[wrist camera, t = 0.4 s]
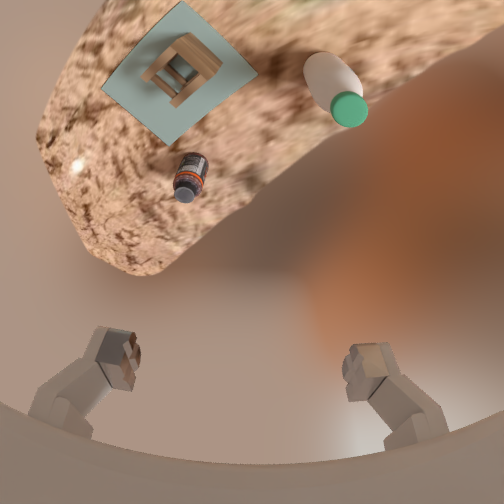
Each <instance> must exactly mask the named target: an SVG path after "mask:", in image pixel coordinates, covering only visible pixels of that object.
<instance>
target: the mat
mask: <svg viewBox="0 0 504 504" xmlns="http://www.w3.org/2000/svg"><path fill="white" fill-rule="evenodd" d="M190 32H191V33H192V34H194V35H195V36H196V37H197V38H198V39H199V40H200V41H201V42H202V43H203V44H204V45H205V46H206V47H207V48H209V49H210V50H211V51H212V52H213V53H214V54H215V55H216V56H217V57H218V58H219V59H220V60H221V61H222V62H223V64H222V65H221V67H220V68H219V70H218V71H217V73H216V74H215V75H214V76H213V77H212V78H211V79H209V80H208V81H207V82H206V83H205V84H203V85H202V86H201V87H200V88H199V89H197V90H196V91H195V92H194V93H193V94H192V95H191V96H189V97H188V98H187V99H186V100H185V101H184V102H183V103H182V104H180V105H179V106H178V107H177V108H175V107H174V106H172V105H171V104H170V103H169V102H170V101H171V100H172V98H171V97H169V96H168V95H167V94H166V93H165V92H164V91H163V90H162V89H160V88H159V87H158V86H157V85H156V84H155V83H154V82H152V81H151V80H149V81H148V82H147V83H146V82H145V81H144V80H143V79H142V78H140V76H141V75H142V74H143V73H144V72H145V71H146V70H147V69H148V68H149V66H150V65H151V64H152V63H153V62H154V61H155V60H156V59H157V58H158V57H159V56H160V55H161V54H162V53H163V52H164V51H165V50H166V49H167V48H168V47H169V46H170V45H171V44H172V43H174V42H175V41H176V40H177V39H178V38H180V37H182V36H184V35H186V34H188V33H190ZM169 64H170V65H171V66H172V67H173V68H174V69H175V70H176V71H177V72H179V73H180V74H181V75H182V76H183V77H184V78H185V79H186V80H187V81H189V80H190V79H191V78H192V77H194V76H195V75H196V74H197V73H198V71H197V70H196V69H194V68H193V67H192V66H191V65H190V64H189V63H188V62H187V61H186V60H185V59H184V58H183V57H181V56H180V55H179V54H178V55H177V56H176V57H175V58H174V59H173V60H172V61H171V62H170V63H169ZM156 74H157V75H158V76H159V77H161V78H162V79H163V80H164V81H165V82H166V83H167V84H168V85H170V86H171V87H172V88H173V89H174V90H175V91H176V92H177V93H179V92H180V91H181V90H180V89H181V88H182V85H181V84H180V83H179V82H178V81H177V80H176V79H174V78H173V77H172V76H171V75H170V74H169V73H168V72H167V71H166V70H164V69H163V70H162V71H158V72H157V73H156ZM258 75H259V74H258V73H257V72H256V71H255V70H254V69H253V68H252V67H251V66H250V64H249V63H248V62H247V61H246V60H245V59H244V58H243V57H242V56H241V55H240V54H239V53H238V52H237V51H236V50H235V49H234V48H233V47H232V46H231V45H230V44H229V43H228V42H227V41H226V40H225V39H224V38H223V37H222V36H221V35H220V34H219V33H218V32H217V31H216V30H215V29H214V28H213V27H212V26H211V25H210V24H208V23H207V22H206V21H205V20H204V19H203V18H202V17H201V16H200V15H199V14H198V13H196V12H195V11H194V10H193V9H192V8H191V7H190V6H188V5H187V4H186V3H185V2H184V1H181V2H180V3H179V4H177V5H176V6H175V7H174V8H173V9H172V10H171V11H170V12H169V13H168V14H167V15H166V16H164V17H163V18H162V19H161V20H160V21H159V22H158V23H157V24H156V25H155V26H154V27H153V28H152V29H151V30H150V31H149V32H148V33H147V35H146V36H145V37H144V38H143V39H142V40H141V41H140V42H139V43H138V44H137V45H136V46H135V48H134V49H133V50H132V51H131V52H130V53H129V54H128V56H127V57H126V58H125V59H124V60H123V61H122V63H121V64H120V65H119V66H118V67H117V69H116V70H115V71H114V72H113V74H112V75H111V76H110V78H109V79H108V80H107V81H106V83H105V84H104V85H103V87H102V88H101V89H102V90H103V91H104V92H105V93H107V94H108V95H109V96H110V97H111V98H113V99H114V100H115V101H116V102H117V103H119V104H120V105H121V106H122V107H123V108H125V109H126V110H127V111H128V112H129V113H131V114H132V115H133V116H134V117H135V118H136V119H138V120H139V121H140V122H141V123H142V124H144V125H145V126H146V127H147V128H148V129H149V130H151V131H152V132H153V133H154V134H155V135H156V136H158V137H159V138H160V139H161V140H162V141H163V142H165V143H166V144H167V145H168V146H170V145H171V144H172V143H173V142H174V141H175V140H177V139H178V138H179V137H180V136H181V135H182V134H183V133H185V132H186V131H187V130H188V129H189V128H190V127H192V126H193V125H194V124H195V123H196V122H198V121H199V120H200V119H201V118H202V117H204V116H205V115H206V114H207V113H208V112H210V111H211V110H212V109H213V108H215V107H216V106H217V105H219V104H220V103H221V102H222V101H224V100H225V99H226V98H228V97H229V96H230V95H232V94H233V93H234V92H236V91H237V90H238V89H240V88H241V87H242V86H244V85H245V84H247V83H248V82H249V81H251V80H252V79H254V78H255V77H256V76H258Z"/></svg>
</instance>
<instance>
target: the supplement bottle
mask: <svg viewBox="0 0 504 504" xmlns="http://www.w3.org/2000/svg"><path fill="white" fill-rule="evenodd" d="M207 171H208V161H207V159H206V158H205V157H204V156H203V155H201V154H198V153H190V154H188V155H186V156H185V157H184V158H183V160H182V162H181V164H180V167H179V169H178V171H177V174H176V176H175V179H174V181H173V188H174V191H175V192H174V196H175V198H176V199H177V200H178V201H179V202H182V203H190V202H192V201H193V200H194V197H197V196H198V195H199V194H200V193H201V191H202V187H203V184H204V181H205V177H206V174H207Z"/></svg>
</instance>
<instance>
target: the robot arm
mask: <svg viewBox="0 0 504 504" xmlns="http://www.w3.org/2000/svg"><path fill="white" fill-rule="evenodd" d="M136 339H137V337H136V334H135V332H129V331H124V330H118V329H113V328H108V327H103V326H98V327H97V328H96V329H95V331H94V333H93V335H92V337H91V340H90V342H89V344H88V346H87V348H86V351H85V353H84V355H83V358H78V359H77V360H75V361H74V362H73V363H71V364H70V365H69V366H67V367H66V368H65V369H63V370H62V371H60V372H59V373H58V374H56V375H55V376H54V377H52V378H51V379H50V380H48V381H47V382H46V383H44V384H43V385H42V386H41V387H39V388H38V390H37V392H36V395H35V397H34V400H33V402H32V405H31V407H30V410H29V413H28V415H26V414H24V413H22V412H19V411H17V410H15V409H13V408H11V407H9V406H7V405H5V404H4V403H2V402H0V504H504V411H500V412H498V413H496V414H493V415H491V416H489V417H487V418H485V419H482V420H480V421H478V422H476V423H473V424H471V425H468V426H466V427H463V428H461V429H458V430H455V431H452V432H449V429H448V426H447V423H446V420H445V417H444V414H443V411H442V409H441V406H440V405H438V404H437V403H436V402H435V401H434V400H433V399H432V398H430V397H429V396H428V395H427V394H426V393H425V392H424V391H423V390H421V389H420V388H419V387H418V386H417V385H416V384H414V383H413V382H412V381H411V380H410V379H409V378H408V377H407V376H405V375H401V373H400V370H399V367H398V365H397V362H396V360H395V357H394V354H393V351H392V349H391V346H390V344H389V343H387V342H386V343H364V344H353V345H352V346H351V347H350V349H349V351H350V354H349V355H347V356H346V357H345V359H344V361H343V365H342V373H343V378H344V380H345V381H347V382H348V384H347V387H346V392H347V396H348V401H349V402H355V401H366V400H368V403H369V404H370V405H371V406H372V407H373V409H374V410H375V411H376V412H377V413H378V414H379V416H380V417H381V418H382V419H383V420H384V422H385V423H386V424H387V425H388V426H389V427H390V429H391V430H392V431H393V432H392V433H391V434H390V435H389V436H387V437H386V438H385V439H384V446H385V451H384V452H378V453H373V454H368V455H363V456H357V457H351V458H344V459H337V460H329V461H320V462H309V463H295V464H265V465H264V464H261V465H260V464H259V465H258V464H257V465H255V464H226V463H212V462H201V461H192V460H184V459H176V458H170V457H164V456H158V455H152V454H147V453H142V452H138V451H133V450H129V449H124V448H120V447H116V446H112V445H109V444H105V443H102V442H98V441H95V440H91V437H92V433H93V427H92V426H91V425H90V424H89V422H88V421H87V420H86V419H85V418H84V417H85V416H86V415H87V414H88V413H89V412H90V411H91V410H92V409H93V408H94V407H95V406H96V405H97V404H98V403H99V402H100V401H101V400H102V399H103V398H104V397H105V396H106V395H107V394H108V393H109V392H110V391H111V390H112V388H114V389H120V390H125V391H131V392H132V390H133V387H134V383H135V379H136V376H135V374H134V371H136V370H137V369H138V368H139V364H140V358H141V351H140V347H139V345H138V344H137V343H136Z"/></svg>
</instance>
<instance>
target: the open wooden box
mask: <svg viewBox="0 0 504 504" xmlns="http://www.w3.org/2000/svg"><path fill="white" fill-rule="evenodd" d="M178 54H179V55H180V56H181V57H183V58H184V59H185V60H186V61H187V62H188V63H189V64H190V65H191V66H192V67H193V68H194V69H196V70H197V71H198V73H197V74H196V75H195V76H194V77H192V78H191V79H190V80H189V81H187V80H186V79H185V78H184V77H183V76H182V75H181V74H180V73H179V72H177V71H176V70H175V69H174V68H173V67H172V66H171V65H170V64H169V63H170V62H171V61H172V60H173V59H174V58H175V57H176V56H177V55H178ZM222 64H223V62H222V61H221V60H220V59H219V58H218V57H217V56H216V55H215V54H214V53H213V52H212V51H211V50H210V49H209V48H207V47H206V46H205V45H204V44H203V43H202V42H201V41H200V40H199V39H198V38H197V37H196V36H195V35H194V34H192V33H191V32H190V33H188V34H186V35H184V36H182V37H180V38H178V39H177V40H176V41H175V42H174V43H172V44H171V45H170V46H169V47H168V48H167V49H166V50H165V51H164V52H163V53H162V54H161V55H160V56H159V57H158V58H157V59H156V60H155V61H154V62H153V63H152V64H151V65H150V66H149V68H148V69H147V70H146V71H145V72H144V73H143V74H142V75H141V76H140V78H142V79H143V80H144V81H145V82H146V83H147V82H148V81H149V80H151V81H152V82H154V83H155V84H156V85H157V86H158V87H159V88H160V89H162V90H163V91H164V92H165V93H166V94H167V95H168V96H169V97H171V98H172V100H171V101H170V102H169V103H170V104H171V105H172V106H174V107H175V108H177V107H178V106H179V105H180V104H182V103H183V102H184V101H185V100H186V99H187V98H188V97H189V96H191V95H192V94H193V93H194V92H195V91H196V90H197V89H199V88H200V87H201V86H202V85H203V84H205V83H206V82H207V81H208V80H209V79H211V78H212V77H213V76H214V75H215V74H216V73H217V71H218V70H219V68H220V67H221V65H222ZM163 69H164V70H166V71H167V72H168V73H169V74H170V75H171V76H172V77H173V78H174V79H176V80H177V81H178V82H179V83H180V84H181V85H182V88H181V89H180V90H181V91H180V92H179V93H177V92H176V91H175V90H174V89H173V88H172V87H171V86H170V85H168V84H167V83H166V82H165V81H164V80H163V79H162V78H161V77H159V76H158V75H157V74H156V73H157V72H158V71H162V70H163Z"/></svg>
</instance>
